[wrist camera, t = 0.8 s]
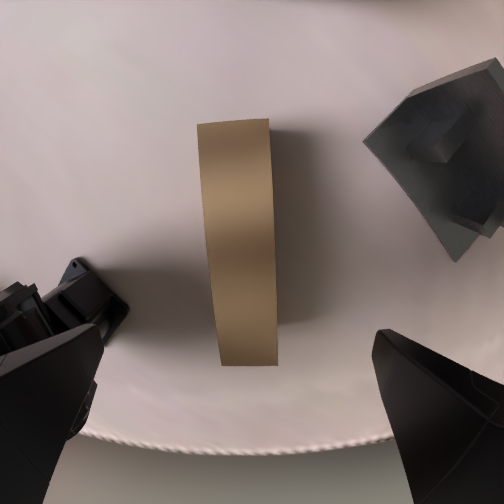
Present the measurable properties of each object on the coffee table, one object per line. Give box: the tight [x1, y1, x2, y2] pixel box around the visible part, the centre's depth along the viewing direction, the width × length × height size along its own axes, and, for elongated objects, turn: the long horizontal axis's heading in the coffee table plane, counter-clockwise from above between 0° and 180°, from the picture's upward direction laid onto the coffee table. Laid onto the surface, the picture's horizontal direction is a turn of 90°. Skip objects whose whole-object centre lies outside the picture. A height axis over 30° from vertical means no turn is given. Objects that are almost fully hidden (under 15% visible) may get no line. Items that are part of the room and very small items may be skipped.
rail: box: [197, 119, 278, 366], centre depth 18 cm, size 14×4×5 cm, turn 3°
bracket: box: [363, 58, 504, 263], centre depth 13 cm, size 6×12×9 cm, turn 47°
